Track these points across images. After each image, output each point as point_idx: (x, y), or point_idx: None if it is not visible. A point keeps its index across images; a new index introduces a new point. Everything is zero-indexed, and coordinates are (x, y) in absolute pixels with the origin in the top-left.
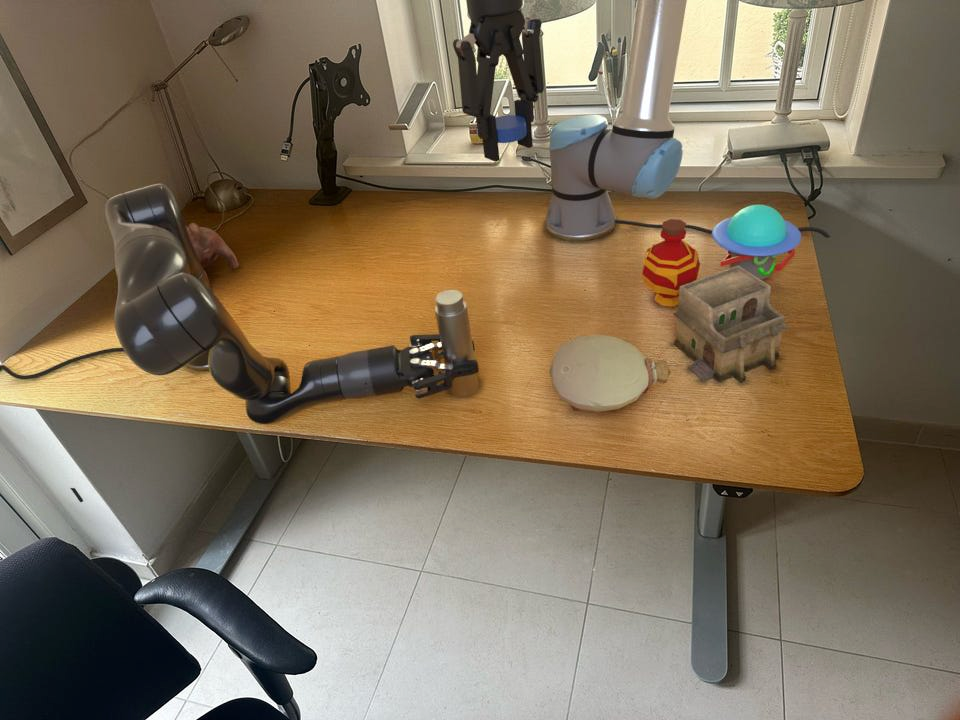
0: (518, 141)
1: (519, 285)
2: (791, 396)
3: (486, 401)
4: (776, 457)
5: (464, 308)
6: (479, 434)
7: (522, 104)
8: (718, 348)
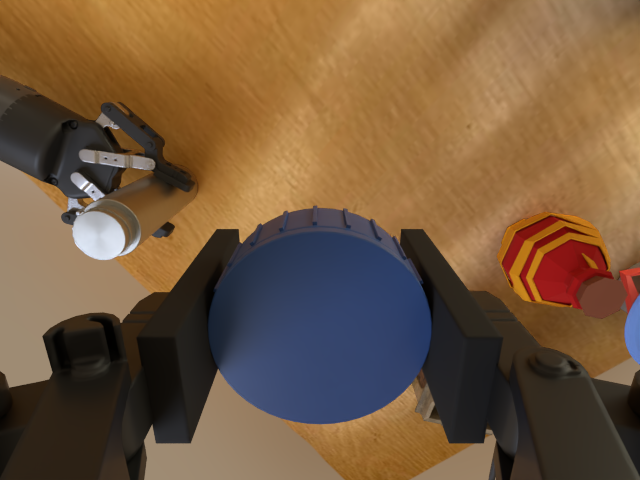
0: (402, 241)
1: (409, 19)
2: (437, 426)
3: (187, 227)
4: (356, 455)
5: (129, 250)
6: (150, 266)
7: (451, 409)
8: (418, 405)
